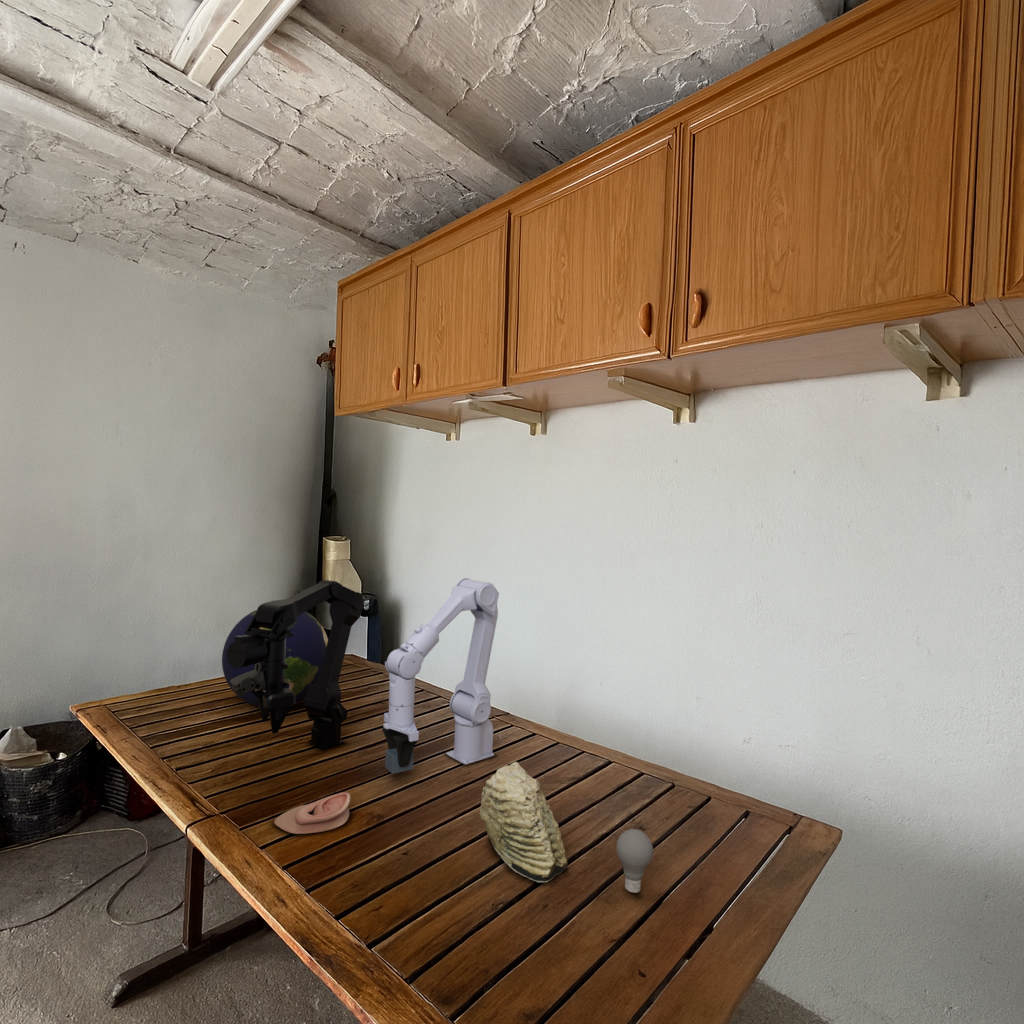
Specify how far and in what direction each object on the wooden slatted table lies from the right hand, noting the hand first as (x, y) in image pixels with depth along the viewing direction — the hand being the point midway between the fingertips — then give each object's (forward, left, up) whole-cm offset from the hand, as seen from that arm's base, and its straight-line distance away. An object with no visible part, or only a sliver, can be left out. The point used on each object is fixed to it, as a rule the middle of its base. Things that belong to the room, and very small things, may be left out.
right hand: (399, 762), depth 144 cm
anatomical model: (+24, +6, -4) cm, 25 cm away
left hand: (+22, -21, +7) cm, 31 cm away
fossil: (0, +40, -4) cm, 41 cm away
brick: (0, 0, -1) cm, 1 cm away
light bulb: (-8, +60, -4) cm, 60 cm away
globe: (+4, -62, -4) cm, 62 cm away
